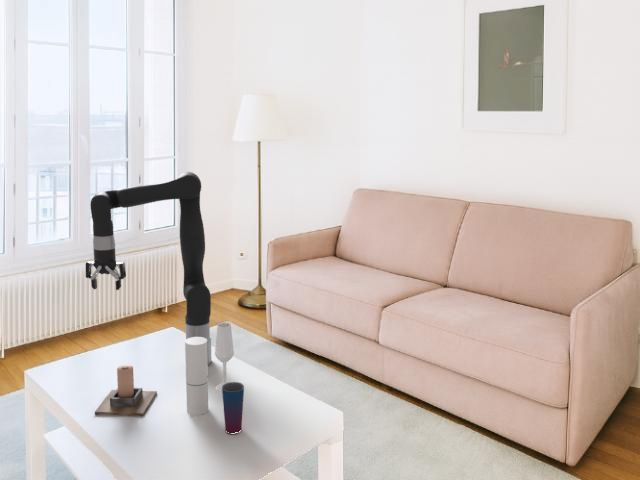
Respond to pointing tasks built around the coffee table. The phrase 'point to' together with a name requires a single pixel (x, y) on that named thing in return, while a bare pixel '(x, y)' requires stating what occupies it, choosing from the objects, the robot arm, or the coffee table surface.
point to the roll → (125, 381)
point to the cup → (233, 406)
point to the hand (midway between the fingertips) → (106, 289)
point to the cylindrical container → (196, 375)
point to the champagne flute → (224, 347)
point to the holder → (126, 403)
